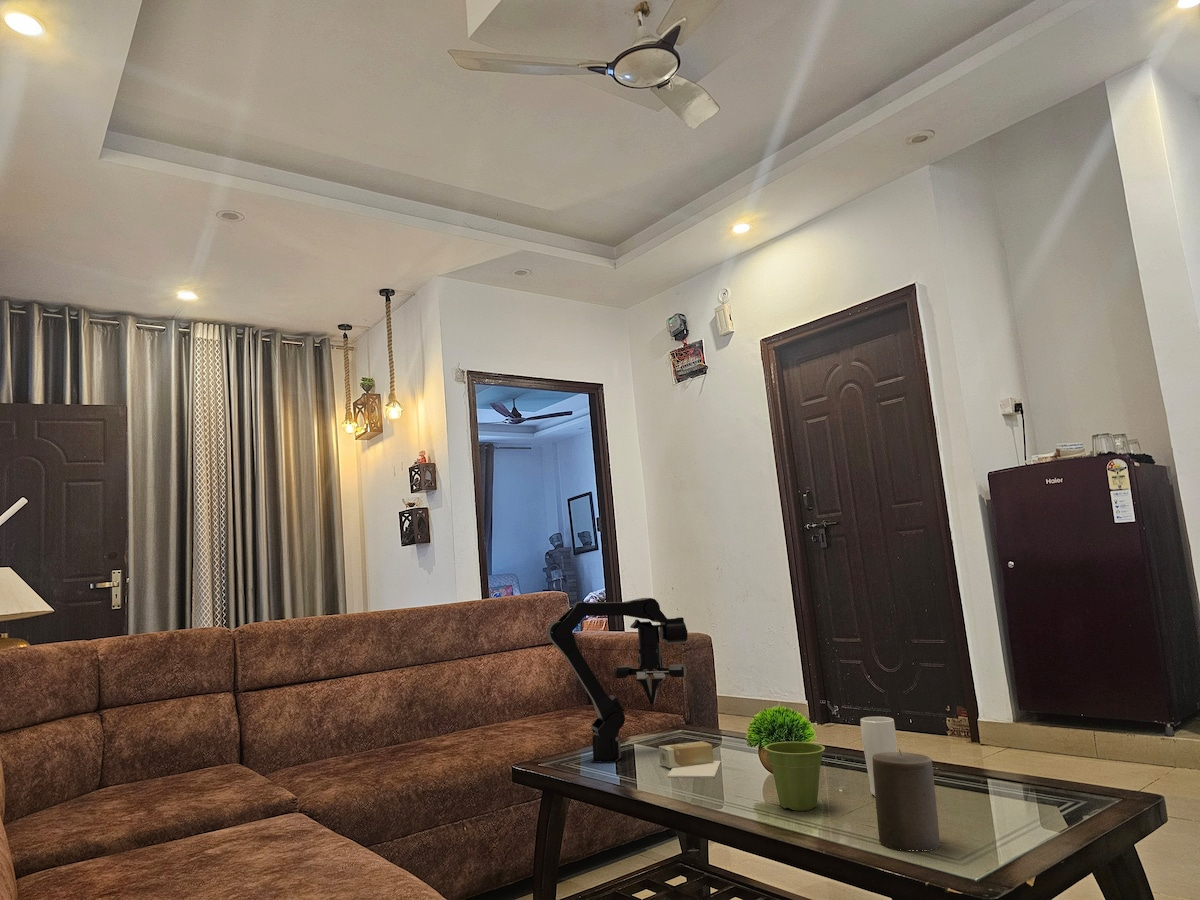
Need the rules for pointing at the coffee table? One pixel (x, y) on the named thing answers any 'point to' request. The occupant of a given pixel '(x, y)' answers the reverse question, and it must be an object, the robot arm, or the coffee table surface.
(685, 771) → the mat
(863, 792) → the coffee table surface
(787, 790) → the plant pot
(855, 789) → the coffee table surface
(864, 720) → the drinking glass
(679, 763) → the skincare box
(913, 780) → the pillar candle
